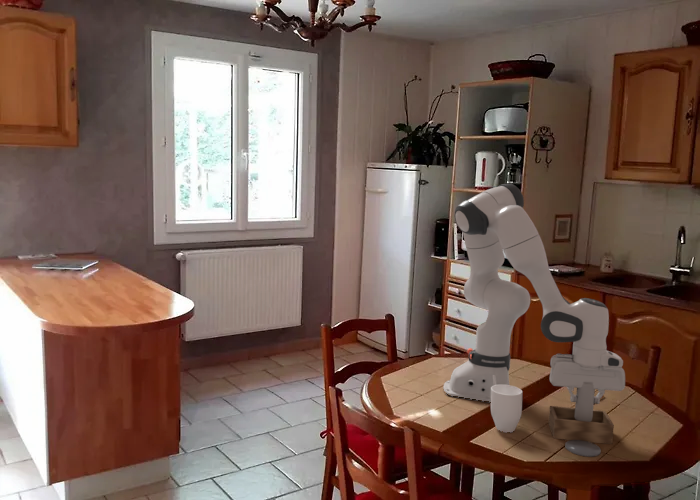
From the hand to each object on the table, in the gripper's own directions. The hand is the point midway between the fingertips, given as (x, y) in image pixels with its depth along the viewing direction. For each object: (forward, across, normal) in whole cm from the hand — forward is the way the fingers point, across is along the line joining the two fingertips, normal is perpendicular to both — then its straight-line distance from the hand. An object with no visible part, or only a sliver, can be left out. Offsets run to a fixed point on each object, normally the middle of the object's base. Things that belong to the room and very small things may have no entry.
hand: (584, 402), depth 180 cm
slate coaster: (+9, -2, -12) cm, 15 cm away
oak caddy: (+9, -1, -1) cm, 9 cm away
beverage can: (+6, 0, 0) cm, 6 cm away
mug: (+9, -22, -1) cm, 24 cm away
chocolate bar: (+10, +10, +28) cm, 31 cm away
